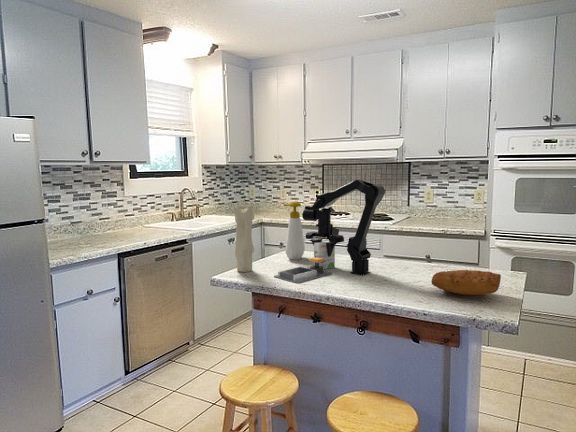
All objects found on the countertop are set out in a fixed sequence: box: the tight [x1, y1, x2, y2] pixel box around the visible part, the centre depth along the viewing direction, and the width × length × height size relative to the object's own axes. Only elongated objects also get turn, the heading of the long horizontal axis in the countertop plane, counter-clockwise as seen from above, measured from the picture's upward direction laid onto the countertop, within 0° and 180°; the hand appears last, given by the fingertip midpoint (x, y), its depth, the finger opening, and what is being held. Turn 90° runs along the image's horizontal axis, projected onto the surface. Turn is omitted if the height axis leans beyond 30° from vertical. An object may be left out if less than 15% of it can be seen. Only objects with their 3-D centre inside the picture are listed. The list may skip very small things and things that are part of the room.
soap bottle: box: [283, 201, 306, 261], centre depth 210 cm, size 13×10×29 cm
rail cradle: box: [273, 265, 333, 284], centre depth 178 cm, size 14×21×3 cm, turn 134°
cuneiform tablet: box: [431, 269, 502, 296], centre depth 149 cm, size 22×17×8 cm
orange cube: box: [309, 257, 324, 267], centre depth 184 cm, size 4×4×4 cm
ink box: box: [313, 240, 336, 270], centre depth 191 cm, size 8×5×12 cm, turn 116°
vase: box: [233, 203, 255, 273], centre depth 186 cm, size 9×8×30 cm
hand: (324, 255), depth 191 cm, fingers closed on ink box, 6 cm apart
